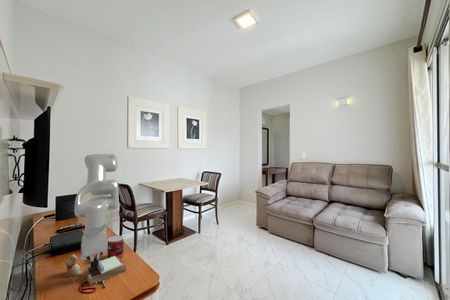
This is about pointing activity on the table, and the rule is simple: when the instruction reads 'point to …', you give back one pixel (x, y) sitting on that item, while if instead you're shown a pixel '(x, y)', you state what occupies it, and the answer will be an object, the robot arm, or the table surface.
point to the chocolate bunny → (73, 267)
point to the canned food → (115, 246)
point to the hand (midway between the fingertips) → (94, 267)
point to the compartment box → (96, 276)
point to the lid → (108, 264)
